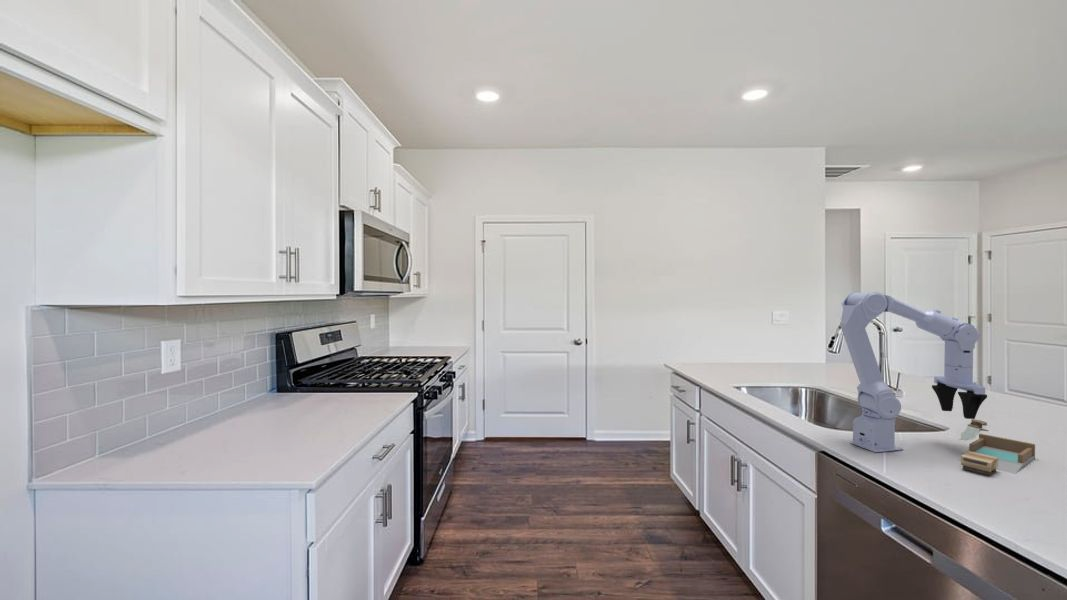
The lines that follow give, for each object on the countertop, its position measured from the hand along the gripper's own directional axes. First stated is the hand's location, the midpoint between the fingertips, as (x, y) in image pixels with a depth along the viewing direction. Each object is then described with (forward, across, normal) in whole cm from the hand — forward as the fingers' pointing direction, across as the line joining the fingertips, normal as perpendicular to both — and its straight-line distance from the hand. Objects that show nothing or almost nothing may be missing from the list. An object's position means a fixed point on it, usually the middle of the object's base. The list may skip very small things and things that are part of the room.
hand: (957, 414), depth 123 cm
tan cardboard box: (+10, -15, +6) cm, 19 cm away
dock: (+10, -7, -4) cm, 13 cm away
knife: (+10, +16, -17) cm, 25 cm away
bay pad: (+10, -6, -5) cm, 12 cm away
